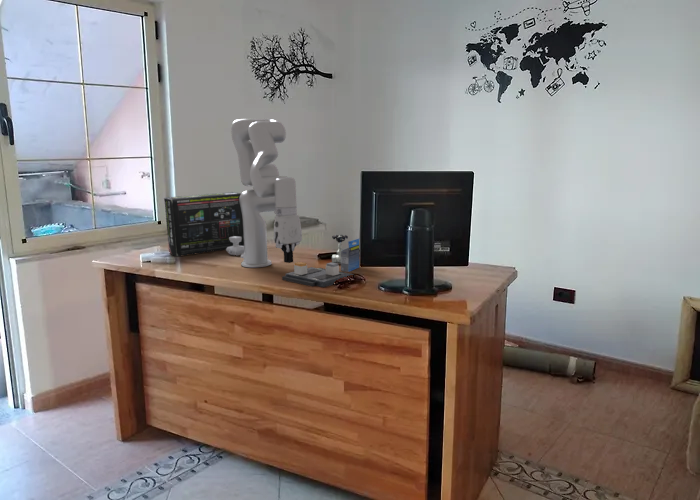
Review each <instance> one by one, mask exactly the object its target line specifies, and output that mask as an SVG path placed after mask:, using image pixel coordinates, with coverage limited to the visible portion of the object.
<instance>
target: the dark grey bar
mask: <svg viewBox="0 0 700 500" xmlns="http://www.w3.org/2000/svg"><path fill="white" fill-rule="evenodd" d="M281 279H282V281H285V280H286V281H285V282H289V283H290V282H291V283H295V284H299V285H304V286H308V287H312V288H313V287H315V282H310V281H306V280H301V279H296V278H292V277H287V276H285V275H282V276H281Z"/></svg>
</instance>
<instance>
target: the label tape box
mask: <svg viewBox="0 0 700 500" xmlns="http://www.w3.org/2000/svg"><path fill="white" fill-rule="evenodd" d="M359 240H360V238H355V239H353V240H350V241H347V243H348V247H346V248H345V249H342V251H341V264H340V272H344V273H350V272H352V271H354V270H356V269H359V268H360V259H359ZM354 243H355V244H354Z"/></svg>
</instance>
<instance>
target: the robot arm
mask: <svg viewBox="0 0 700 500" xmlns="http://www.w3.org/2000/svg"><path fill="white" fill-rule="evenodd" d="M230 134H231V140H232V143H233V145H234V147H235V150H236V153H237V159H238V168H239V169H238V170H239V176H240V177H239V178H240V181H241V182H240V183H242V185H244V186H246V187H252V188H253V189H247V190H244V191H242V192H241V195H240V197H239V202H240V207H241V212H242V219H243V234H244V253H243V254H241V255H240V258H241V259H243V261H241V264H240V265H241V267H244V268H265V267H268V266H271V265H272V260H270V259H268V258H269V257H268V240H267V239H268V236H267V223H266V219H264V217H263V216H262V215H261V213H267V212H273V213H274V215H275V216H274V223H273V240H274V243H275V248H276V249H277V248H278V249H281V252H283V262H284V263H286V264H287V263H288V264H292V263H294V251H295V248H296V246H298V245H300V244H301V241H302V240H303V234H302V224H301V223H302V222H301V219H300V215H299V214H298V208H297V188H296V187H297V184H296V179H295V178H294V177H289V176H285V175H281V176H280V173H279V169H278V167H277V166H276V164H274V163H273V162H275V161H276V160H277V158H278V157H279V151H278V149H277V147H276V146H277V145H276V144H282V143H284V142H285V140H286V138H287V131H286V128H285V126H284V124H283V123H282V122H281V121H279V120H275V119H271V118H240V119H235V120H234V121H233V122H232V124H231V127H230Z"/></svg>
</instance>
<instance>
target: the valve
mask: <svg viewBox="0 0 700 500" xmlns="http://www.w3.org/2000/svg"><path fill="white" fill-rule="evenodd" d="M348 238H349V236H348V234H344V235H343V234H340V235H339V234H335V235H332V239H333V240H335V241H336V242H337V243H338V244H337V248H338V249H337V250H336V254H332V256H331V262H332V263H337V264H338V265H341V251H342V250H343V244H342V243H343V242H345V240H346V239H347V240H348Z"/></svg>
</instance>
